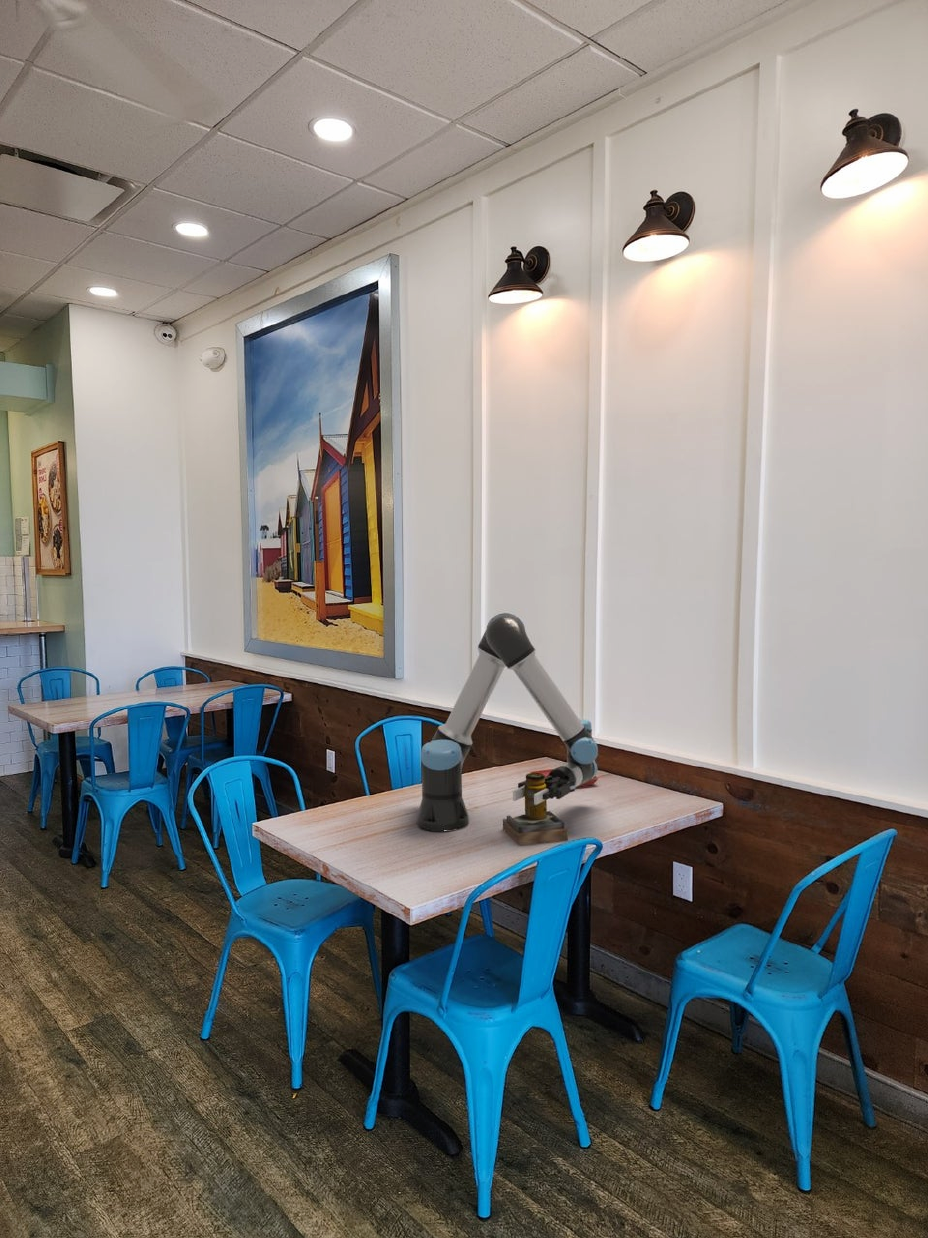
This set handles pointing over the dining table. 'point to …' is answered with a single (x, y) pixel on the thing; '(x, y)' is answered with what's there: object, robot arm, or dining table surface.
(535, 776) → the condiment
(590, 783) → the plant saucer
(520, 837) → the dock
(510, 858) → the dining table surface
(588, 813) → the dining table surface
